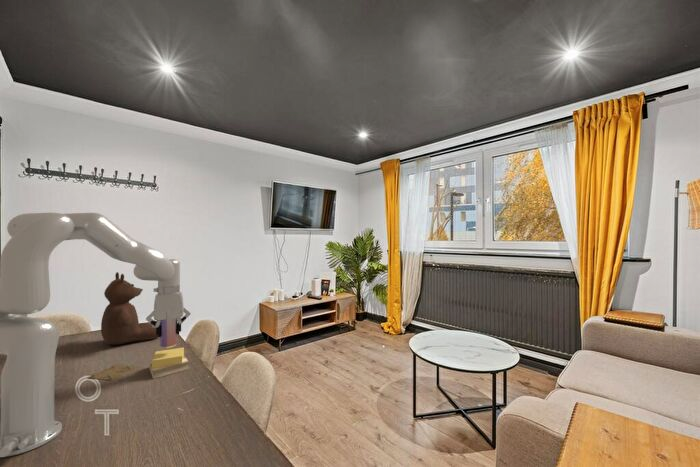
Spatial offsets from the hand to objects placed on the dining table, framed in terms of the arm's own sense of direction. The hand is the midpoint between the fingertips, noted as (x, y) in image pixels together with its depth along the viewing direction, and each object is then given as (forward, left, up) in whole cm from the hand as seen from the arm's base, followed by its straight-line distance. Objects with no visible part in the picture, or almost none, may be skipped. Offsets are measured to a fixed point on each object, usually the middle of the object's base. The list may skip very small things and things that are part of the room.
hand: (168, 334), depth 119 cm
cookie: (+7, +18, -14) cm, 24 cm away
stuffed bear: (+48, +17, -14) cm, 53 cm away
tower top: (0, 0, -11) cm, 11 cm away
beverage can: (0, 0, -5) cm, 5 cm away
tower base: (0, 0, -14) cm, 14 cm away
